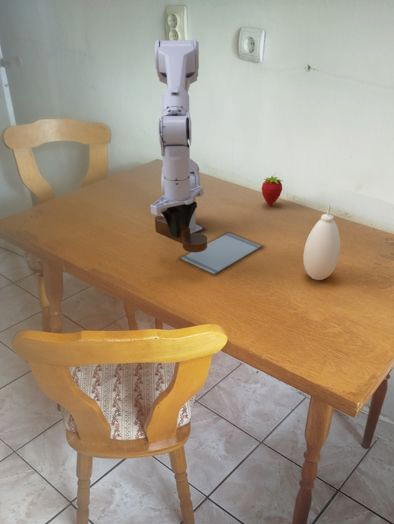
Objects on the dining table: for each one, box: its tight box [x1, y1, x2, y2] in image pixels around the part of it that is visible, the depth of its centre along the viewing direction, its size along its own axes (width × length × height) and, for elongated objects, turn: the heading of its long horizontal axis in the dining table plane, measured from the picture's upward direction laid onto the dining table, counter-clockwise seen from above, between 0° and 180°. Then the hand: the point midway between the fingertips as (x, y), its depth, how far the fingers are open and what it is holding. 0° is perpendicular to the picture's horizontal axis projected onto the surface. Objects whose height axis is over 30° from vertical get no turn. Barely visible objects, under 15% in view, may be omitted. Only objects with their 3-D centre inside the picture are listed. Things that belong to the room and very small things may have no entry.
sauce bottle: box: [302, 203, 341, 281], centre depth 111 cm, size 8×8×18 cm
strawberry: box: [261, 172, 283, 207], centre depth 145 cm, size 6×8×10 cm
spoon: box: [154, 215, 208, 253], centre depth 116 cm, size 15×6×3 cm, turn 47°
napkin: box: [180, 232, 262, 275], centre depth 126 cm, size 11×18×1 cm, turn 137°
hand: (179, 234), depth 116 cm, fingers closed on spoon, 2 cm apart
